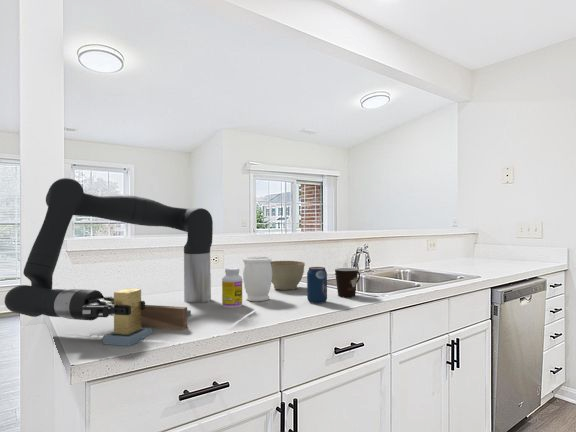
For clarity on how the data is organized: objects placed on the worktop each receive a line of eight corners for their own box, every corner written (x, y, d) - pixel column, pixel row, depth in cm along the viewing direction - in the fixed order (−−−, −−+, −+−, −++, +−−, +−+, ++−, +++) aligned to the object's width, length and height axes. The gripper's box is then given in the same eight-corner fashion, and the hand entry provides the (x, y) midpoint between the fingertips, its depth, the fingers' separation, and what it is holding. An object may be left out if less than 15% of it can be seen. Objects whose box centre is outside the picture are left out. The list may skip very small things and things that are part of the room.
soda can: (328, 304, 136) (327, 269, 136) (307, 304, 136) (307, 269, 136) (326, 299, 143) (325, 266, 143) (306, 300, 143) (306, 266, 143)
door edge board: (122, 325, 111) (122, 303, 111) (187, 329, 106) (187, 307, 106) (117, 327, 109) (117, 305, 109) (183, 331, 104) (183, 308, 104)
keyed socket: (126, 333, 103) (126, 326, 103) (151, 335, 101) (151, 328, 101) (102, 343, 94) (102, 335, 94) (130, 345, 92) (130, 338, 92)
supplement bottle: (235, 310, 128) (235, 270, 128) (218, 308, 131) (218, 269, 131) (246, 305, 134) (245, 267, 134) (229, 304, 137) (229, 266, 137)
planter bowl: (284, 293, 156) (284, 265, 156) (258, 288, 167) (258, 262, 168) (313, 288, 166) (312, 262, 167) (287, 283, 178) (286, 259, 178)
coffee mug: (340, 298, 144) (340, 271, 144) (331, 294, 153) (331, 268, 153) (369, 296, 148) (369, 269, 148) (359, 292, 156) (358, 267, 156)
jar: (238, 301, 142) (238, 259, 142) (250, 295, 151) (249, 256, 152) (265, 303, 138) (265, 259, 138) (276, 297, 148) (276, 257, 148)
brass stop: (127, 328, 100) (127, 288, 101) (141, 329, 99) (141, 289, 99) (113, 333, 96) (113, 292, 96) (128, 335, 95) (128, 293, 95)
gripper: (56, 294, 94) (117, 298, 90) (99, 284, 108) (154, 287, 104) (56, 326, 94) (117, 331, 90) (99, 312, 108) (154, 316, 104)
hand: (137, 307), depth 97 cm, fingers closed on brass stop, 5 cm apart
